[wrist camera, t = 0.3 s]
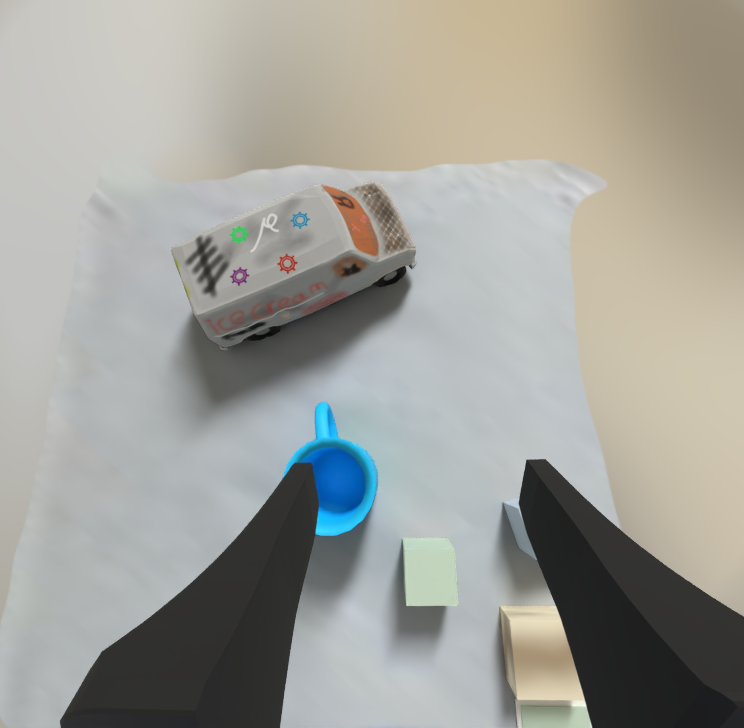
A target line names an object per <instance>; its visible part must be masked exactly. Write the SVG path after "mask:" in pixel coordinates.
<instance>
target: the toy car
mask: <svg viewBox="0 0 744 728" xmlns="http://www.w3.org/2000/svg"><path fill="white" fill-rule="evenodd" d="M171 252H172V255H173V258H174V261H175V264H176V266H177V269H178V271H179V274H180V277H181V279H182V282H183V285H184V288H185V291H186V294H187V297H188V300H189V302H190V305H191V308H192V310H193V313H194V315H195V317H196V319H197V321H198V322H199V324H200V325H201V326H202V328H203V330H204V332H205V333H206V335H207V337H208V338H209V339H210V340H212V341H213V342H215V343H217V344H218V345H219V347H220V349H221V350H229V348H228V347H229V346H232V345H236V344H238V343H241V342H242V340H243V339H245V338H246V339H248V340H251V341H255V340H261V339H264V338H265V337H269V336H272V335H274V334H276V333H278V332H280V325H283V324H286V323H289V322H291V321H294V320H296V319H299V318H301V317H304V316H306V315H309V314H311V313H313V312H315V311H317V310H320V309H322V308H324V307H326V306H328V305H330V304H332V303H334V302H337V301H339V300H341V299H343V298H345V297H347V296H349V295H352V294H354V293H356V292H358V291H360V290H362V289H365V288H367V287H369V286H371V285H372V284H373V283H374V282H375V284H376V285H377V286H378V287H384V286H387V285H390V284H394V283H396V282H397V281H398V280H399V279H400V278H402V277H403V276H404V275H405V273H406V267H405V266H409V267H410V268H411V269H413V268H414V267H415V265H416V263H417V262H416V258H415V253H416V249H415V245H414V242H413V240H412V238H411V236H410V233H409V231H408V229H407V227H406V225H405V223H404V221H403V219H402V217H401V215H400V213H399V211H398V209H397V208H396V206H395V204H394V202H393V200H392V199H391V197H390V196H389V194H388V192H387V191H386V189H385V188H384V186H383V185H382V183H380V182H372V181H370V182H367V183H364V184H361V185H358V186H354V187H351V188H348V189H344V190H339V189H336V188H332V187H329V186H325V185H322V184H316V185H313V186H310V187H308V188H305V189H302V190H299V191H297V192H294V193H292V194H289V195H287V196H284V197H281V198H279V199H277V200H274V201H272V202H270V203H268V204H265V205H263V206H261V207H258V208H256V209H254V210H251V211H249V212H247V213H244V214H242V215H240V216H237V217H235V218H232V219H230V220H228V221H226V222H224V223H222V224H219V225H217V226H215V227H213V228H211V229H208V230H206V231H204V232H202V233H200V234H198V235H195V236H193V237H191V238H189V239H187V240H184V241H182V242H180V243H178V244H177V245H175V246H174V247H172V249H171ZM224 347H226V348H224Z"/></svg>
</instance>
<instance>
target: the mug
mask: <svg viewBox="0 0 744 728" xmlns="http://www.w3.org/2000/svg"><path fill="white" fill-rule="evenodd" d="M315 430H316V440H314V441H311V442H308V443H307V444H305V445H304V446H303V447H302V448H300V449H299V450H298V451H296V452H295V454H294V455H293V457H292V458H291V459H290V461H289V462H288V464H287V466H286V469H285V472H284V475H283V478H284V476H285V475H286V473H287V472H288V470H289V469H290V467H291V466H292V465H293V464H294V463H312V465H313V471H314V477H315V483H316V489H317V495H318V501H319V510H318V518H317V526H316V533H315V534H317V535H320V536H336V535H339V534H342V533H344V532H347V531H350V530H351V529H353V528H354V527H355V526H356V525H357V524H359V523H360V522H361V521H362V520H363V519H364V517H365V516H366V514H367V513H368V511H369V510H370V508H371V506H372V503H373V501H374V498H375V495H376V491H377V487H378V471H377V469H376V466H375V463H374V460H373V459H372V458H371V456H370V455H369V454H368V452H367V451H366V450H364V449H363V448H361V447H360V446H359V445H357V444H355V443H352V442H349V441H346V440H343V439H339V438H338V434H337V429H336V424H335V420H334V417H333V413H332V410H331V408H330V406H329V404H328V403H326V402H322V403H319V404H318V405H317V406H316V409H315ZM283 478H282V479H283Z"/></svg>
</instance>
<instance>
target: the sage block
mask: <svg viewBox="0 0 744 728" xmlns="http://www.w3.org/2000/svg"><path fill="white" fill-rule="evenodd" d="M403 566H404V589H405V598H406V606H458V592H457V577H456V561H455V549H454V547H453V546H452V545H451V543H450V542H449V540H448V539H447V538H403Z"/></svg>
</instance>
